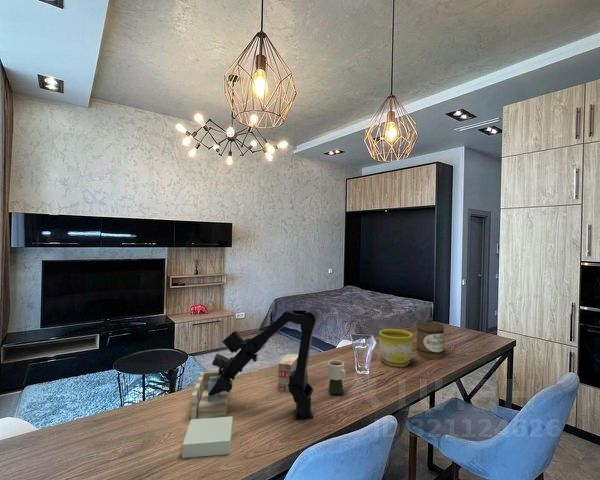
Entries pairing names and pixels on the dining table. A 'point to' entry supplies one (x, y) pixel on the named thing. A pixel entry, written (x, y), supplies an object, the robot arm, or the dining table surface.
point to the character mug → (336, 376)
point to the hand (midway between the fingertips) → (210, 391)
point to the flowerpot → (395, 347)
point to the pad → (208, 437)
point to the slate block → (210, 385)
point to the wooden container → (430, 339)
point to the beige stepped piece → (201, 399)
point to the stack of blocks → (286, 371)
